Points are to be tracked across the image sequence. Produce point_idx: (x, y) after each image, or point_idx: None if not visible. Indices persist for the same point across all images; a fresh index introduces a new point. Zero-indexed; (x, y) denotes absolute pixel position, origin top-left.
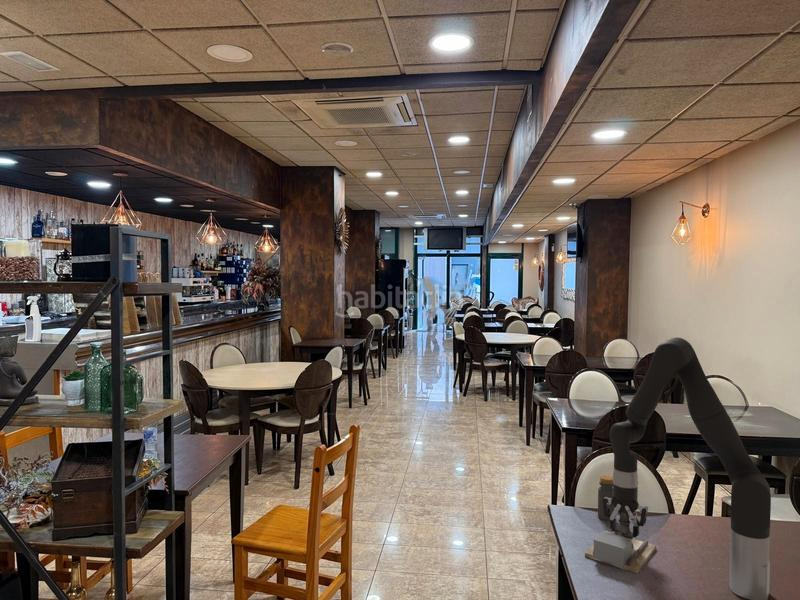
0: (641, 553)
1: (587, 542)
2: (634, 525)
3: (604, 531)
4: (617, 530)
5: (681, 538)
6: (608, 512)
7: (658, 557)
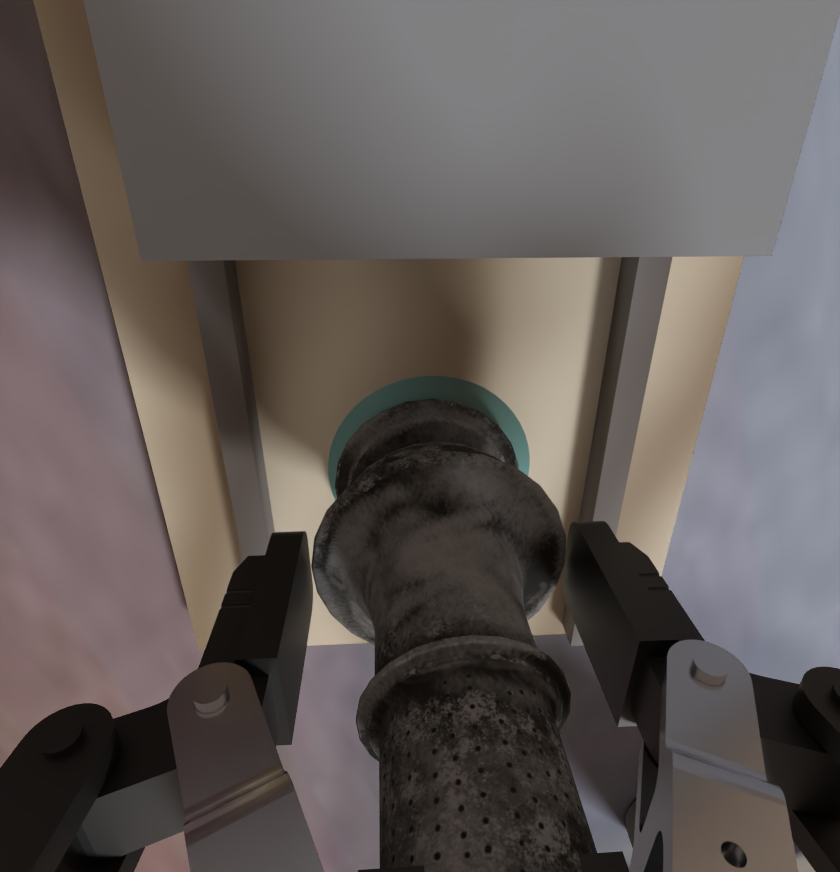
0: (215, 420)
1: (785, 355)
2: (239, 678)
3: (735, 251)
4: (535, 555)
5: (162, 840)
6: (825, 791)
7: (112, 504)
